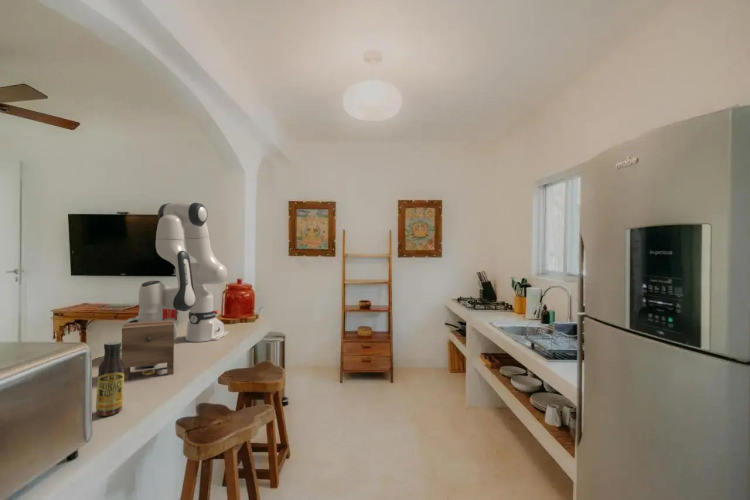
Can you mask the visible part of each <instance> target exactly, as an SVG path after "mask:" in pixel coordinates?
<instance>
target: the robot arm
mask: <svg viewBox="0 0 750 500" xmlns="http://www.w3.org/2000/svg"><path fill="white" fill-rule="evenodd" d="M157 218H158V223H157V227H156V228H157V229H156V233H155V234H156V235H155V249H156V253H157V254H158V256H159V257H161V258H162V259H163V260H166V261H167V262H169V263H171V264H172V265H173V266H174V267H175V270H176V273H175V276H176V279H177V285H178V287H172V286H168V285H165V284H163V282H161V280H149V281H145V282H143V283H142V284H141V285H140V287H139V292H138V306H139V311H138V315H136V316H134V317H131V318H128V319H127V320H126V321H125V323H135V322H148V321H161V320H173V322H174V340H176V339H178V329H177V328H178V327H179V319H176V318H175V317H171V318H168V317H167V318H166V317H165V318H164V317H163V316H164V314H163V313H164V312H163V309H165V310H174V311H175V310H176V311H179V312H180V311H181V312H188V321H187V326H186V334H185V335H184V338H185V341H187V342H192V343H199V342H202V343H203V342H208V341H217V340H220V339H222V338H223V336H224V337H225V336H227V335H228V333H229V334H230V332H229V331H227V330H225V326H224V325H225V324H224V322H223V321H222V320H220V319H218V318H217V317H216V315H218V314H219V313H220V312H219V310H218V309H217V310H216V309H214V295H213V293H211V292H210V291H208V290H207V289H206V286H205V285H217V284H223V283H224V282H225V281H226V279H228V278H227V277H228V270H227V267H226V266H225V265H224V264H223V263H221V262H220V261H219V260H218V259H217V258H216V256H215V255H214V253H213V250H212V245H211V241H210V240H211V239H210V234H209V227H208V224H207V219H208V210H207V208H206V206H205V205H204V204H202V203H199V202H189V201H186V202H185V201H182V202H181V201H180V202H168V203H164V204H162V205H160V207H159V209H158V211H157ZM190 257H192V258H194V260H195V261H196V262H191V259H190ZM221 337H222V338H221Z"/></svg>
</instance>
